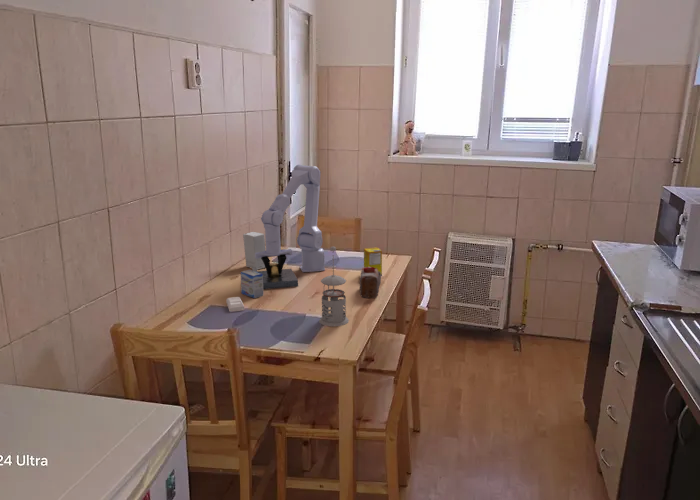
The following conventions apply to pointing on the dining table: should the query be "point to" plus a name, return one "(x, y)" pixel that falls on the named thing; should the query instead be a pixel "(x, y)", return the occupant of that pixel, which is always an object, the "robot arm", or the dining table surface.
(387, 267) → the dining table surface
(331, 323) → the french press
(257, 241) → the skincare box
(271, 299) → the dining table surface
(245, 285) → the medicine box
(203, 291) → the dining table surface
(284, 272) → the jig
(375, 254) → the supplement box
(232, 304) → the soap bar
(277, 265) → the cylinder
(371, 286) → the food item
